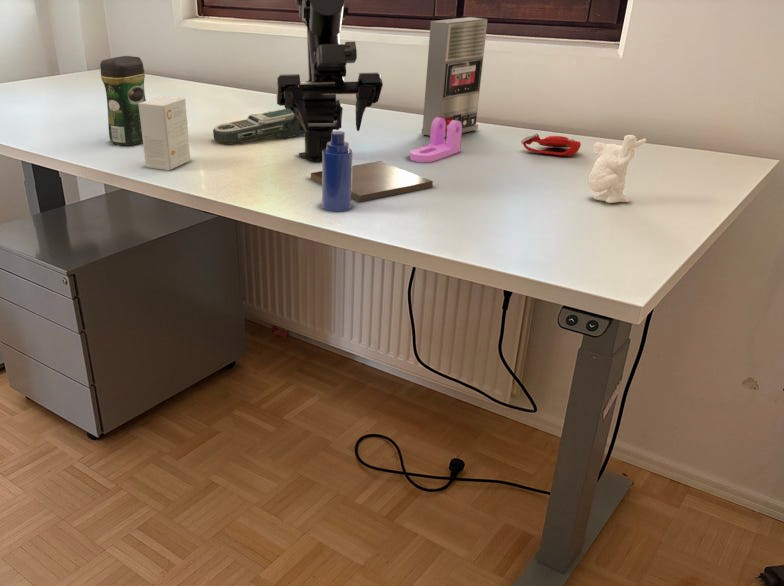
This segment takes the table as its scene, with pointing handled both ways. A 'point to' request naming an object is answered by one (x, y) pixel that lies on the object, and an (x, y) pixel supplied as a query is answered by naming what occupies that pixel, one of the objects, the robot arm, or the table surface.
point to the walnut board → (380, 181)
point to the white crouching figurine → (612, 169)
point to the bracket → (439, 142)
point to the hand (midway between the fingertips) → (332, 130)
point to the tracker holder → (553, 144)
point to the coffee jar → (124, 98)
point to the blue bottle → (337, 174)
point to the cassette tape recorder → (454, 72)
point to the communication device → (259, 127)
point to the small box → (164, 132)
